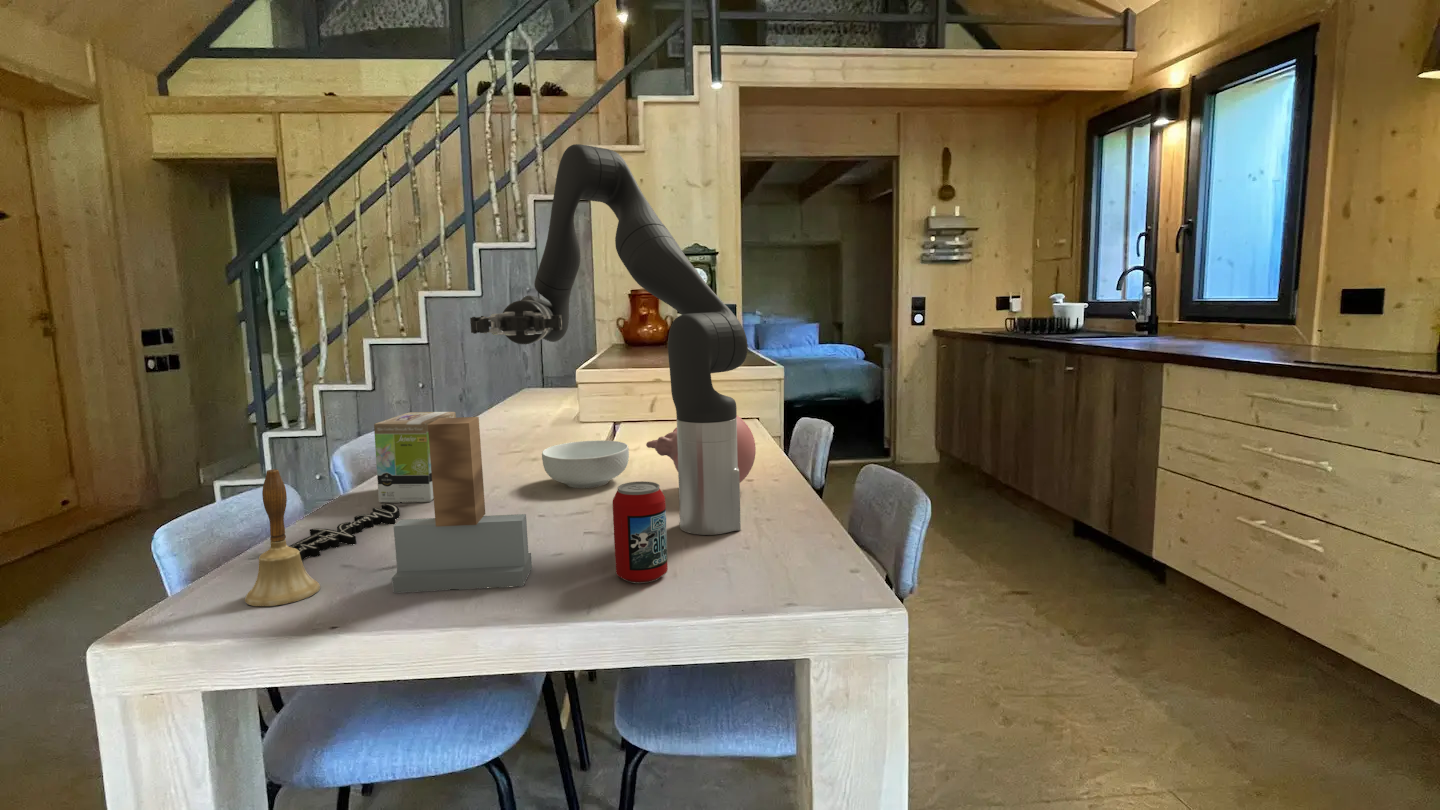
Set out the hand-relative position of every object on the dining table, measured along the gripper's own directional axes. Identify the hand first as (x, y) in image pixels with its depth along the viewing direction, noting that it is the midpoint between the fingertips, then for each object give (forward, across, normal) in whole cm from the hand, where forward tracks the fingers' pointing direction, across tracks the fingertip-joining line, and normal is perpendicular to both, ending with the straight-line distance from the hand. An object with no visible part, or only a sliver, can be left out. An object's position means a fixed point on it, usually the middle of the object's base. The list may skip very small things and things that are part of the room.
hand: (509, 325), depth 120 cm
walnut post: (+24, -3, +24) cm, 34 cm away
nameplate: (+1, -27, +33) cm, 43 cm away
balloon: (-16, +30, +32) cm, 47 cm away
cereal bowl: (-26, +8, +32) cm, 42 cm away
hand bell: (+26, -25, +32) cm, 48 cm away
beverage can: (+26, +20, +32) cm, 46 cm away
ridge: (+24, -3, +32) cm, 40 cm away
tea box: (-24, -23, +32) cm, 46 cm away
